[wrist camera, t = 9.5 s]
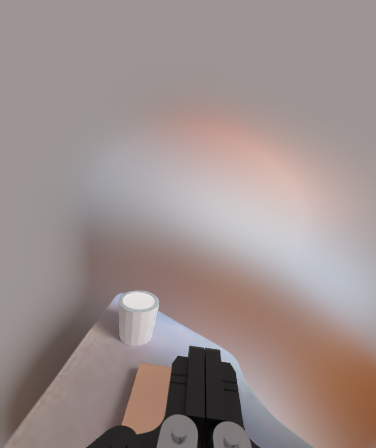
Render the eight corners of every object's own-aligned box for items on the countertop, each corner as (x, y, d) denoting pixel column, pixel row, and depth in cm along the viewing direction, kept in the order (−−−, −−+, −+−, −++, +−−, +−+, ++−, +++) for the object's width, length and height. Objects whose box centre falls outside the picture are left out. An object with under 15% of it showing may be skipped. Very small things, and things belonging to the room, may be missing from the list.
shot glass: (151, 321, 51) (155, 289, 50) (158, 346, 45) (162, 310, 43) (115, 324, 49) (117, 290, 47) (116, 350, 43) (119, 313, 41)
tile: (232, 492, 25) (221, 374, 39) (107, 473, 25) (139, 362, 39) (227, 509, 26) (218, 387, 39) (105, 490, 26) (138, 375, 39)
